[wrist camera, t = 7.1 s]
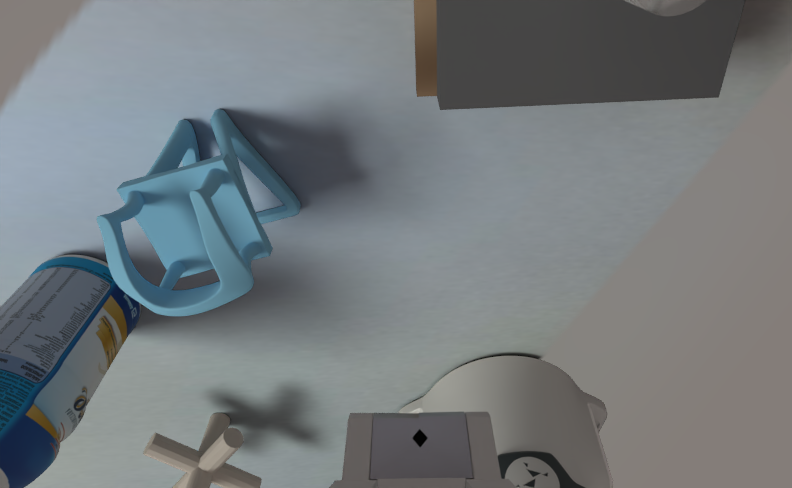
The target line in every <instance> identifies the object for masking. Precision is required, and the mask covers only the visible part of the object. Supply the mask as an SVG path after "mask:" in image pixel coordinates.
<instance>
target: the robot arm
mask: <svg viewBox="0 0 792 488" xmlns="http://www.w3.org/2000/svg"><path fill="white" fill-rule="evenodd" d="M606 418H607V412H606V408H605V405H604V403H603V402H602V401H601V400H599V399H597V398H595V397H593V396H591V395H589V394H587V393H584V392H583V391H582V390H580V389H579V387H578V386H577V385H576V384H575V383H574V381H573V380H572V379H571V378H570V377H569V375H567V374H566V373H565V372H564V371H562V370H561V369H560V368H558V367H556V366H554V365H552V364H550V363H548V362H545V361H542V360H539V359H535V358H530V357H524V356H497V357H490V358H485V359H480V360H477V361H473V362H471V363H468V364H465V365H463V366H461V367H459V368H457V369H455V370H453V371H451V372H450V373H448V374H447V375H446V376H444V377H443V378H442V379H440V380H439V381H438V382H437V383H436V384H435V385H434V386H433V388H432V389H431V390H430V391H429V392H428V393H427V394H426V395H425V396H423V397H422V398H420V399H418V400H416V401H414V402H412V403H410V404H408V405H406V406H404V407H403V408H402V409H401V410H400V411H399V412H398V413H350V416H349V419H348V427H347V436H346V446H345V456H344V465H343V475H342V480H337V481H334V482H333V484H332V485H331V486H330V487H329V488H613V481H612V477H611V473H610V470H609V466H608V464H607V460H606V457H605V453H604V450H603V446H602V443H601V440H600V437H599V431H600V429H601V427H602V425H603V424H604V422H605V420H606Z"/></svg>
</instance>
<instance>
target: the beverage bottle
mask: <svg viewBox="0 0 792 488" xmlns="http://www.w3.org/2000/svg"><path fill="white" fill-rule="evenodd" d="M140 313H141V303H139V302H138V301H136V300H135V299H133V298H132V297H130V296H129V295H128V294H126V293H125V292H124V291H123V290H122V289H121V288H120V287H119V286H118V285H117V284H116V282H115V281H114V279H113V277H112V275H111V272H110V270H109V266H108V263H106V262H104V261H102V260H99V259H96V258H93V257H89V256H84V255H62V256H58V257H54V258H52V259H49V260H47V261H45V262H44V263H42V264H41V265H40V266H39V267H38V268H37V269H36V270H35V271H34V272H33V273H32V274H31V275H30V277H29V278H28V279H27V280H26V281H25V282H24V283H23V284H22V285H21V286H20V287H19V288H18V289H17V290H16V291H15V292H14V293H13V295H12V296H11V297H10V298H9V299H8V300H7V301H6V302H5V303H4V304H3V305H2V306H1V307H0V488H24V487H25V486H27V485H28V484H30V483H31V482H32V481H34V480H35V479H36V478H37V477H39V476H40V475H41V474H42V473H43V472H44V471H45V470H46V469H47V468H48V467H49V466H50V465H51V464H52V462H53V461H54V460H55V458H56V456H57V454H58V452H59V448H60V442H61V441H63V440H64V439H66V438H67V437H68V436H69V435H70V434H71V433H72V432H73V431H74V430H75V428H76V427H77V425H78V424H79V422H80V421H81V419H82V417H83V415H84V412H85V409H86V406H87V404H88V402H89V401H90V399H91V397H92V396H93V394H94V392H95V391H96V389H97V387H98V385H99V384H100V382H101V380H102V379H103V377H104V375H105V374H106V372H107V370H108V369H109V367H110V365H111V364H112V362H113V360H114V358H115V357H116V355H117V353H118V352H119V350H120V348H121V347H122V345H123V343H124V342H125V340H126V338H127V337H128V335H129V334H130V333H131V332H132V330H133V329H134V327H135V325H136V324H137V322H138V320H139V317H140Z"/></svg>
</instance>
